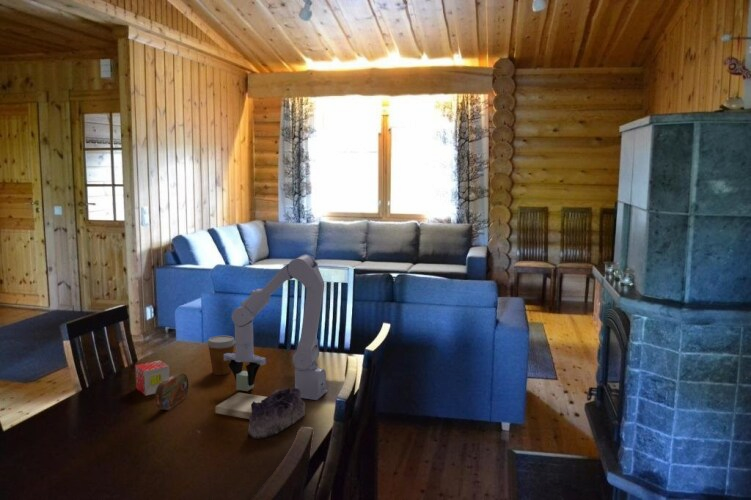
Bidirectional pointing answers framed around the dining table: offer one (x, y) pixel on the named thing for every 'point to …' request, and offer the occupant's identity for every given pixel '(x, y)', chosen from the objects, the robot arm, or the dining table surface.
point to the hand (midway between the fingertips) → (245, 383)
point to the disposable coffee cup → (220, 353)
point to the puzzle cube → (151, 376)
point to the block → (243, 381)
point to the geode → (275, 413)
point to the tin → (171, 391)
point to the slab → (238, 405)
